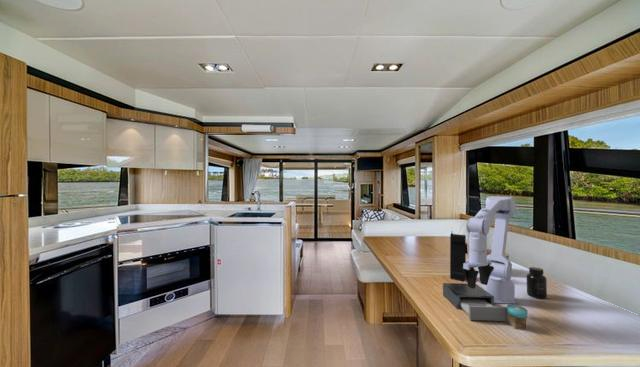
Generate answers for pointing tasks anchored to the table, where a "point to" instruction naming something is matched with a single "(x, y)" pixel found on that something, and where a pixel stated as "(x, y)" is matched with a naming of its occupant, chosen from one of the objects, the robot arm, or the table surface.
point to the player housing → (464, 293)
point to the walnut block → (517, 322)
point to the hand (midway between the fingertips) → (477, 285)
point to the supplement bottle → (536, 283)
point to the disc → (517, 311)
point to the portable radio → (457, 256)
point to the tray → (483, 310)
